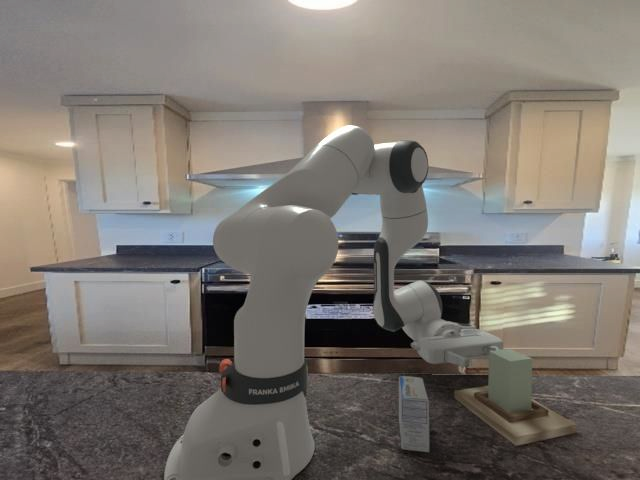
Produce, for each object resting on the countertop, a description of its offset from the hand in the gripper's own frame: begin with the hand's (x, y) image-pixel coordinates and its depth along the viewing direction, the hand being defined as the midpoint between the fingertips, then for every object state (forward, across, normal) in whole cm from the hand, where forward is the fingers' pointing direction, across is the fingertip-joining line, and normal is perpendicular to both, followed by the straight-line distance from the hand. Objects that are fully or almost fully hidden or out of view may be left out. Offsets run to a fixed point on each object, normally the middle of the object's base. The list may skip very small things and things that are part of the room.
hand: (485, 361), depth 65 cm
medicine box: (+7, -22, +8) cm, 24 cm away
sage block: (+6, 0, +6) cm, 9 cm away
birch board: (+6, 0, +8) cm, 10 cm away
